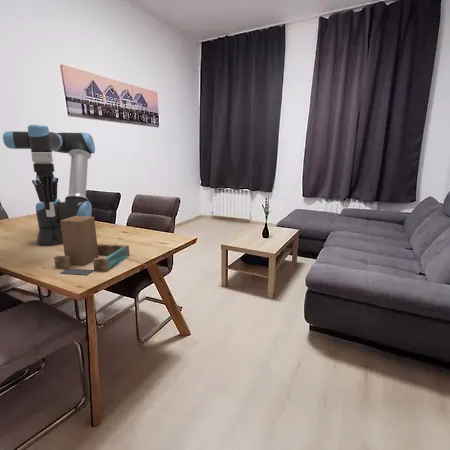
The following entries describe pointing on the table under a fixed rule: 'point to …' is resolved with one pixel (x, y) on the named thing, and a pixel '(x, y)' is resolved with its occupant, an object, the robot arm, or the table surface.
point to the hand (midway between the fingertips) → (51, 216)
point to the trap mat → (77, 271)
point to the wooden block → (79, 239)
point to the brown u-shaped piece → (100, 264)
